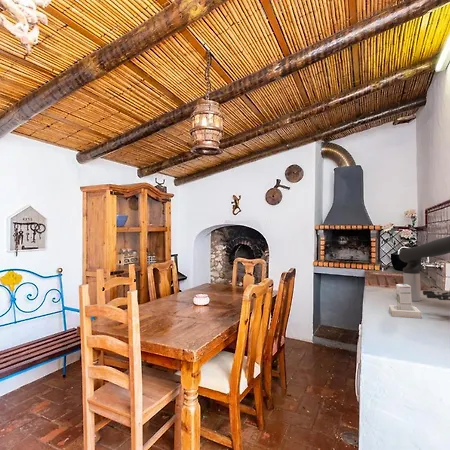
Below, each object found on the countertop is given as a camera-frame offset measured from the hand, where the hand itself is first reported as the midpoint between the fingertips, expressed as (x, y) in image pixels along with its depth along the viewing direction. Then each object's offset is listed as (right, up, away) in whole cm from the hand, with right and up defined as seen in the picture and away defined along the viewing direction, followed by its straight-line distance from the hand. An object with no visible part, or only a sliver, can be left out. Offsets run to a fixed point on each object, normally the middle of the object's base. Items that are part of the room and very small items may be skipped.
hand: (424, 294), depth 156 cm
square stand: (-9, -11, +3) cm, 15 cm away
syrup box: (-9, -11, +3) cm, 14 cm away
